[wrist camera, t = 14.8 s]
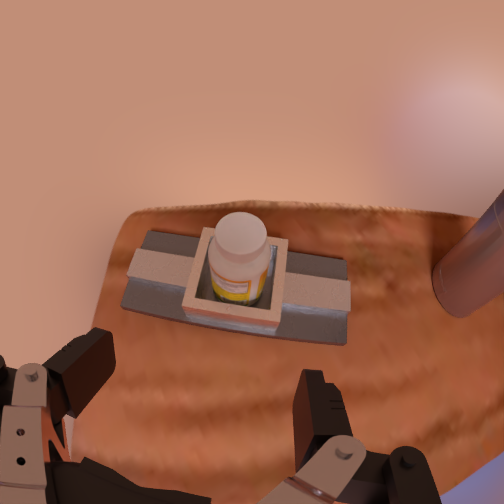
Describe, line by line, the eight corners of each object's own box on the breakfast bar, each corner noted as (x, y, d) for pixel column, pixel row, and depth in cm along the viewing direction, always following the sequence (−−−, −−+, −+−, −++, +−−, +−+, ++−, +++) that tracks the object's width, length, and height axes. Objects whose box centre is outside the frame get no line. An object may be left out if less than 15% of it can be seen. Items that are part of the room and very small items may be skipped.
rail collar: (343, 264, 33) (355, 246, 29) (343, 345, 28) (357, 335, 24) (149, 235, 33) (142, 214, 30) (123, 309, 28) (109, 294, 25)
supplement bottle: (228, 318, 28) (225, 274, 19) (203, 276, 30) (193, 221, 22) (273, 294, 29) (289, 243, 21) (247, 255, 32) (252, 196, 23)
